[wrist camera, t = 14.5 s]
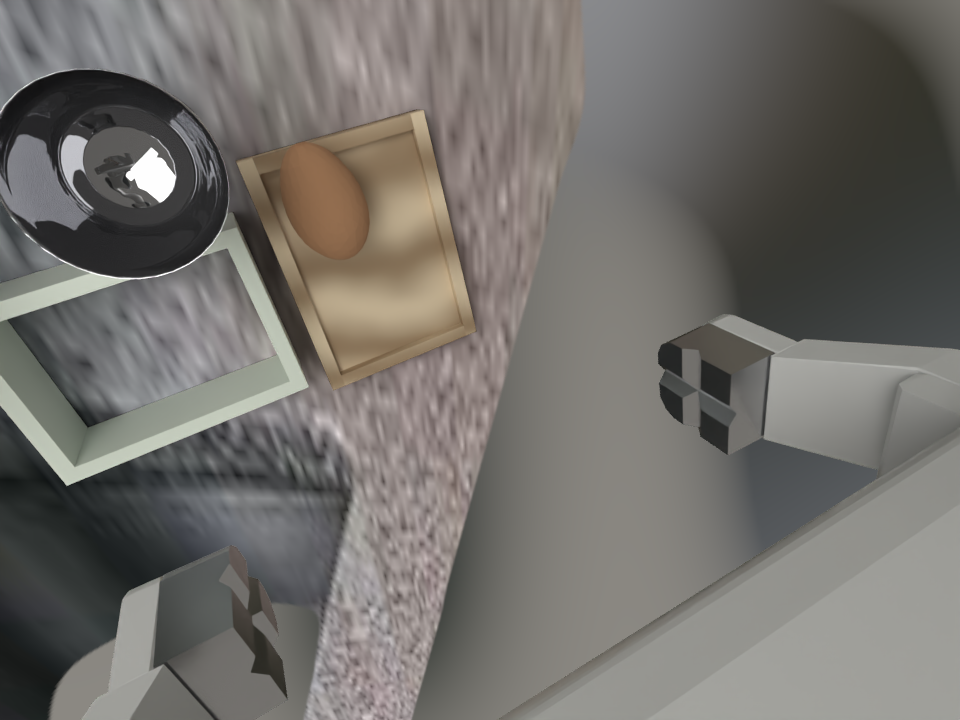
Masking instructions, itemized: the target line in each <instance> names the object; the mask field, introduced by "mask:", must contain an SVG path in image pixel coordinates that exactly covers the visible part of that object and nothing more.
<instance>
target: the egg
mask: <svg viewBox="0 0 960 720" xmlns="http://www.w3.org/2000/svg"><path fill="white" fill-rule="evenodd" d="M280 188H281V196H282V202H283V205H284V208H285V211H286V214H287V216H288V219H289V221H290V223H291V225H292V227H293V228H294V230H295V231H296V233H297V234H298V236H299V237H300V238H301V239H302V240H303V241H304V243H305V244H306V245H308V246H309V247H310V248H311V249H313V250H314V251H316V252H317V253H319V254H321V255H323V256H325V257H328V258H331V259H335V260H345V259H349V258H351V257H353V256H355V255H356V254H357V253H358V252H359V251H360V250H361V249H362V248H363V246H364V244H365V242H366V240H367V236H368V232H369V225H370V219H369V210H368V205H367V202H366V199H365V196H364V194H363V192H362V190H361V187H360V185H359V183H358V182H357V180H356V179H355V177H354V175H353V174H352V173H351V171H350V170H349V169H348V168H347V167H346V166H345V165H344V164H343V163H342V161H341V160H340V159H339V158H337V157H336V156H335V155H334V154H333V153H331V152H330V151H329V150H328V149H326V148H324V147H322V146H320V145H317V144H314V143H310V142H300V143H296V144H295V145H293V146H291V147H290V148H289V149H288V151H287V152H286V153H285V155H284V158H283V160H282V164H281V168H280Z"/></svg>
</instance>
